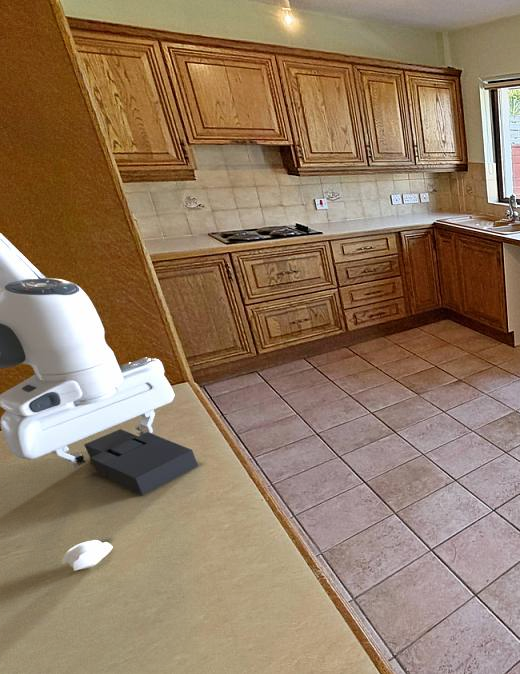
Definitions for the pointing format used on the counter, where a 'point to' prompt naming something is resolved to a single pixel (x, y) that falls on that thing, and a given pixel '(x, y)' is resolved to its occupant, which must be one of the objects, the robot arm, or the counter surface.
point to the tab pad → (113, 443)
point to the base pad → (145, 464)
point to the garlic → (86, 554)
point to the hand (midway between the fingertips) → (113, 448)
